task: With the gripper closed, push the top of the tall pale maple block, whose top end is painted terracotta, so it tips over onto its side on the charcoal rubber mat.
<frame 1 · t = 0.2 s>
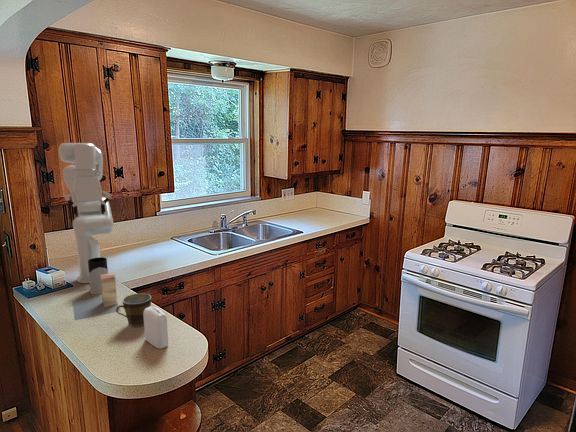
hand: (90, 214, 161), 36 cm above the worktop, tool pointing down, fingers open, 9 cm apart
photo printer: (156, 343, 130), on the worktop
ceramic cup: (135, 325, 142), on the worktop
maple block: (109, 303, 159), point 1 cm above the worktop, touching rubber mat
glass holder: (99, 290, 175), on the worktop
rubber mat: (96, 307, 157), on the worktop
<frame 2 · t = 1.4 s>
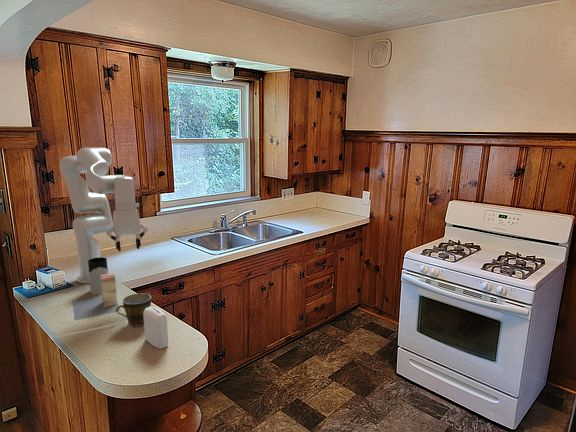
hand: (128, 249, 159), 23 cm above the worktop, tool pointing down, fingers open, 6 cm apart
nothing on the worktop moved.
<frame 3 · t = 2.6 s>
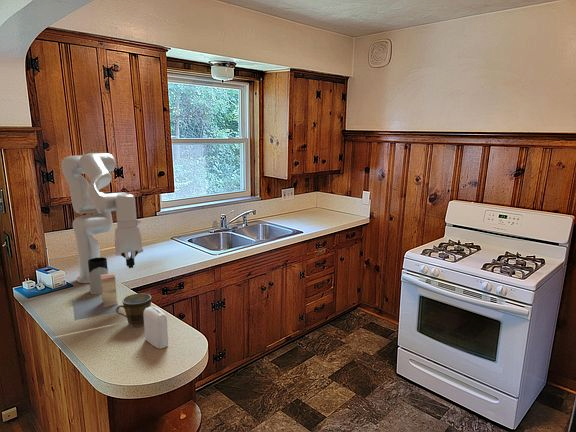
hand: (130, 267, 161), 15 cm above the worktop, tool pointing down, fingers closed
nothing on the worktop moved.
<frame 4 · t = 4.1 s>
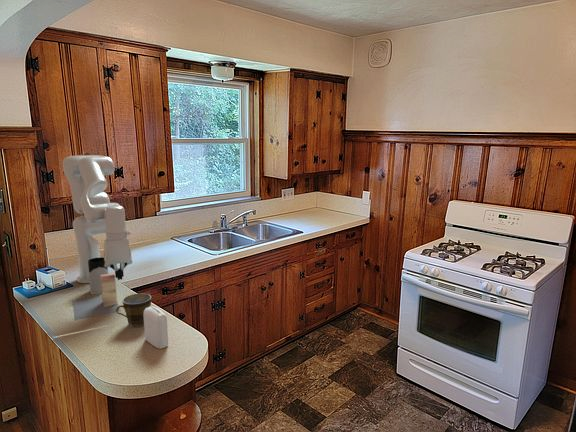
hand: (119, 278, 160), 11 cm above the worktop, tool pointing down, fingers closed
nothing on the worktop moved.
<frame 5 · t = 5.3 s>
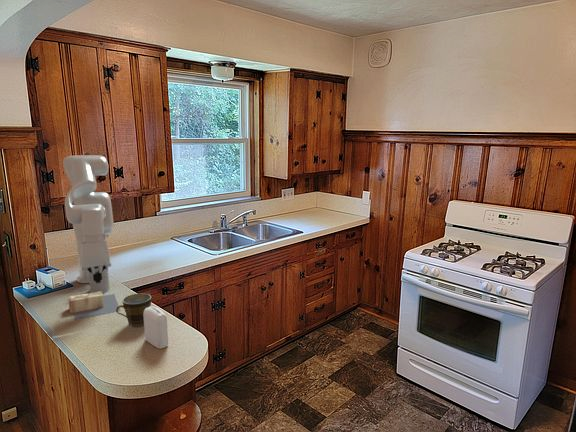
hand: (98, 282, 155), 11 cm above the worktop, tool pointing down, fingers closed
maple block: (102, 298, 157), point 3 cm above the worktop, tilted 90°, touching rubber mat
everything else where it was.
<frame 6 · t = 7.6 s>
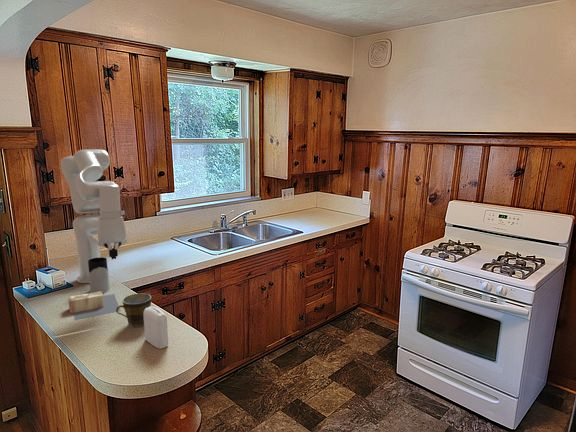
hand: (113, 258, 158), 19 cm above the worktop, tool pointing down, fingers closed
nothing on the worktop moved.
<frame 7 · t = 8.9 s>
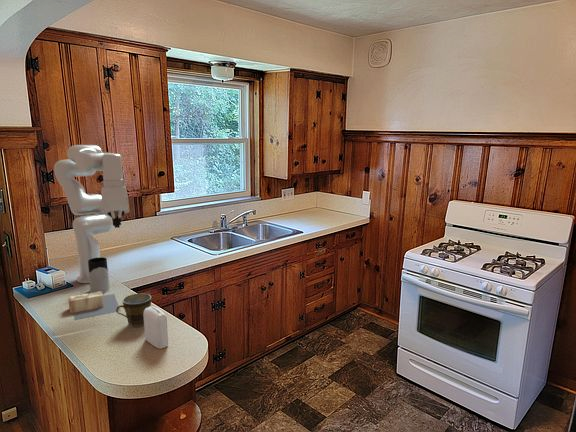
hand: (117, 227, 162), 31 cm above the worktop, tool pointing down, fingers closed
nothing on the worktop moved.
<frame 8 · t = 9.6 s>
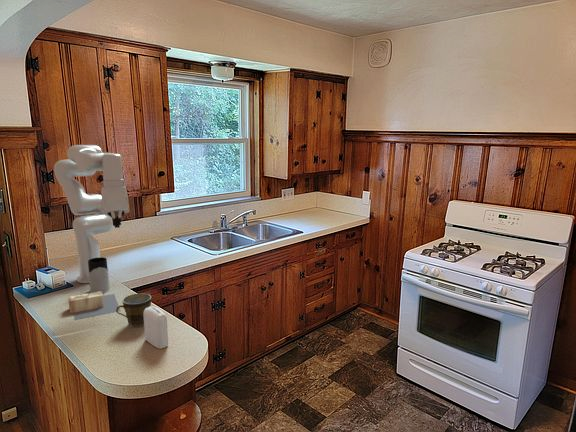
hand: (117, 227, 162), 31 cm above the worktop, tool pointing down, fingers closed
nothing on the worktop moved.
at the end: maple block tilted 90°; maple block inside the target area (0.2 cm from its centre), point 3.1 cm above the worktop; the gripper is holding nothing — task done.
